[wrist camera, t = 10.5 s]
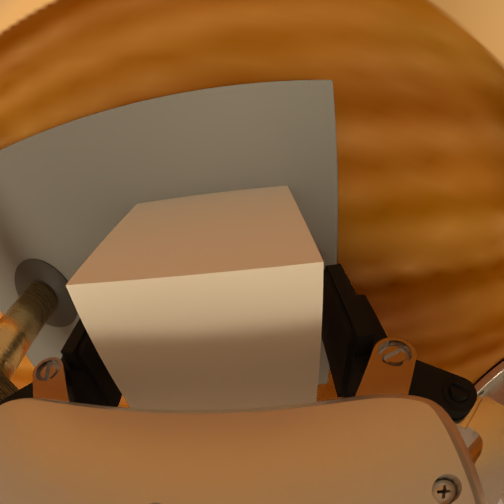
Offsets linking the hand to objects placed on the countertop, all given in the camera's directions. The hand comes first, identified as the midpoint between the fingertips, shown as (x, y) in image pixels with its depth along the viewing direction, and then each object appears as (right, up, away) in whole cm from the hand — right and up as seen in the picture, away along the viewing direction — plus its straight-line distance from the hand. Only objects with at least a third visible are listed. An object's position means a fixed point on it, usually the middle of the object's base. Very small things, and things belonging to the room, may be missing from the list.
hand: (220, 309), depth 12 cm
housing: (-5, +1, +4) cm, 6 cm away
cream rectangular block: (0, +1, +2) cm, 2 cm away
